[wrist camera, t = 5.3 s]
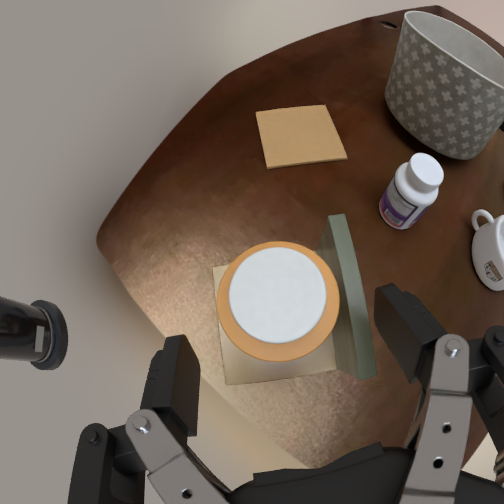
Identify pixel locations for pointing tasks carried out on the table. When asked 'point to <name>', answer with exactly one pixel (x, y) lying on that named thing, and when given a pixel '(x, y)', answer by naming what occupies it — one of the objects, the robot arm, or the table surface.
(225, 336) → the miniature wooden chair
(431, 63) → the planter
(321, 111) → the coaster
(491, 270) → the mug
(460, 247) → the table surface
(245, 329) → the amber bottle
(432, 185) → the pill bottle
